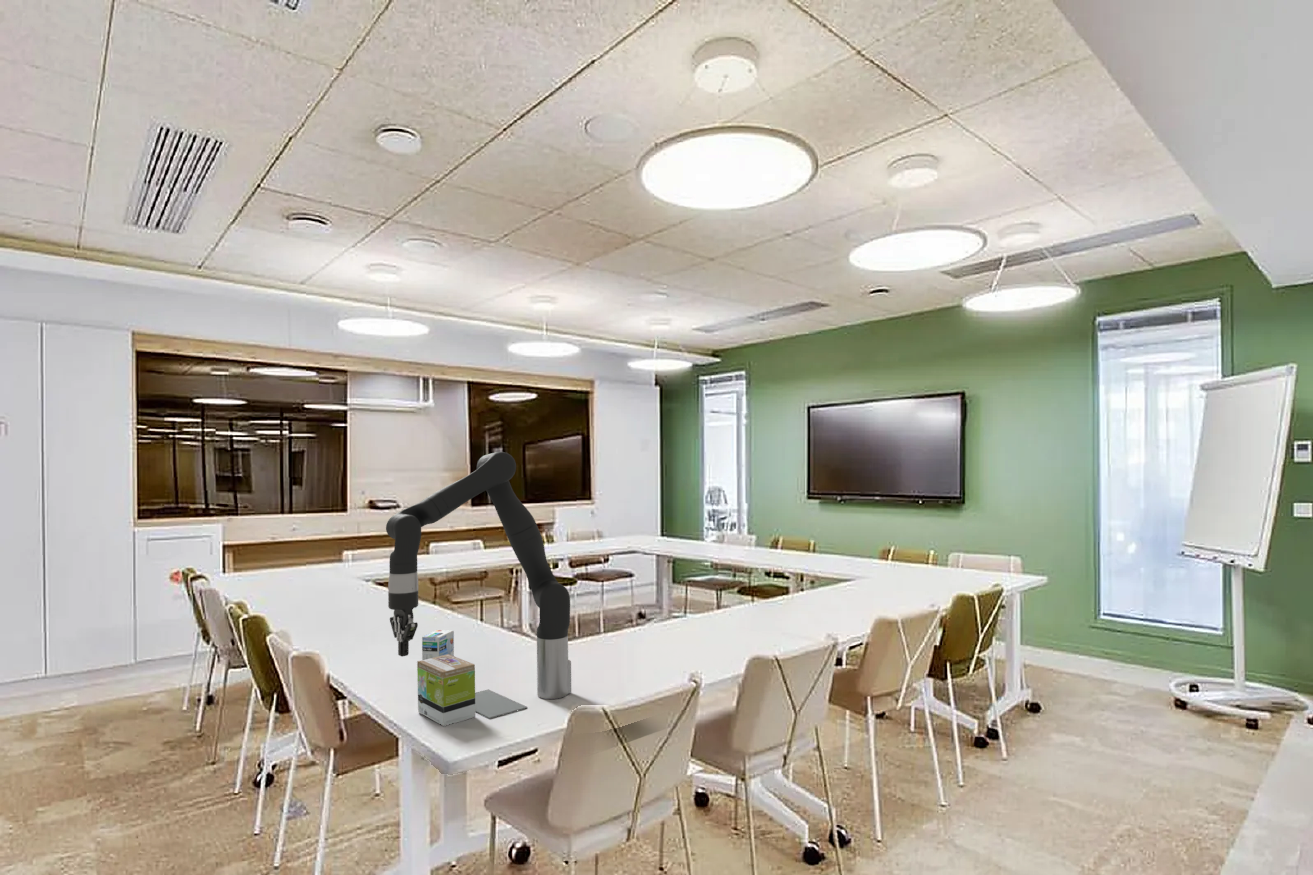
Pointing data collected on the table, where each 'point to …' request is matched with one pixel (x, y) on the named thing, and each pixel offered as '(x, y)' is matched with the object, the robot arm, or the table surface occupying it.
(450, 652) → the light bulb box
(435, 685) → the tea box
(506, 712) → the mat
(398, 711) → the table surface
